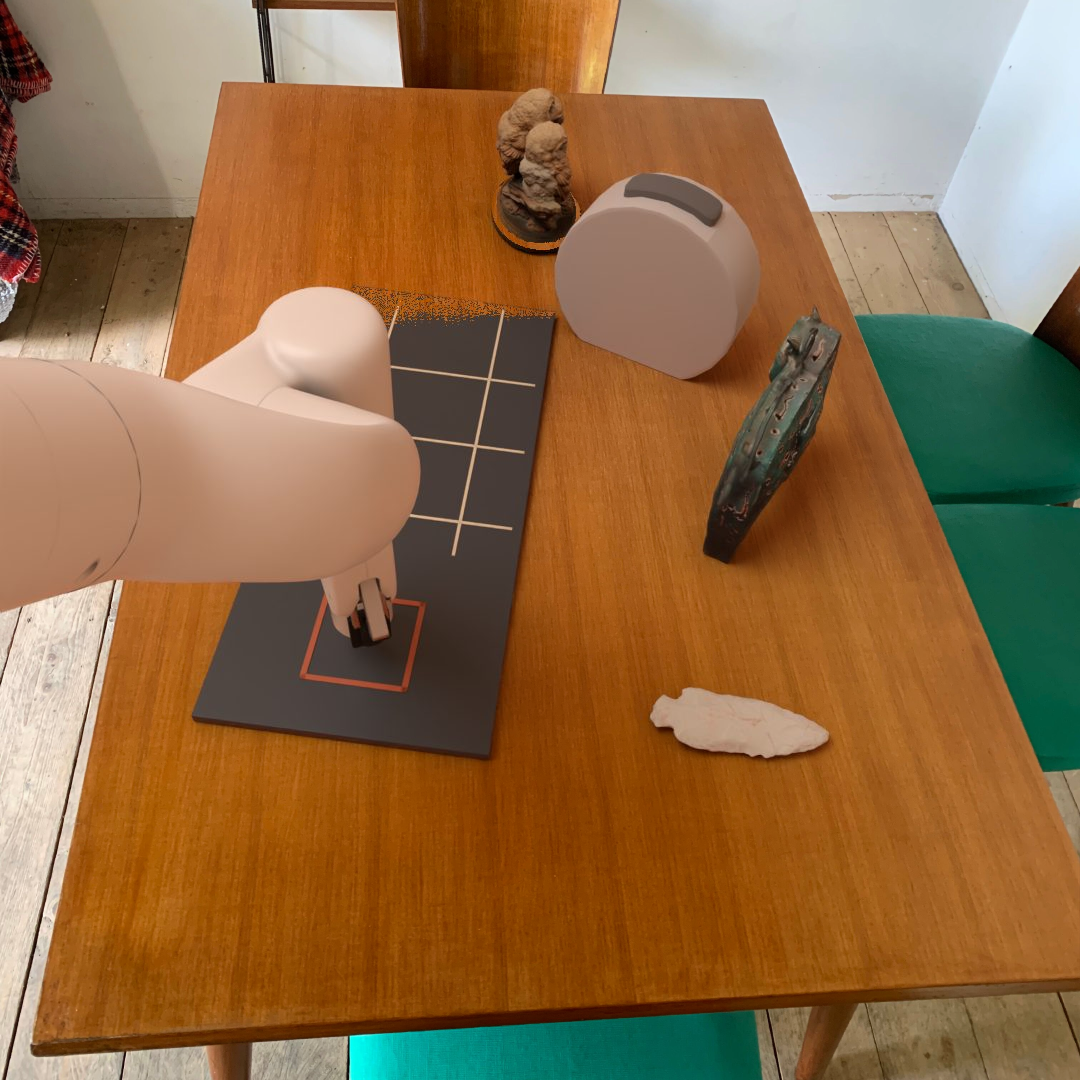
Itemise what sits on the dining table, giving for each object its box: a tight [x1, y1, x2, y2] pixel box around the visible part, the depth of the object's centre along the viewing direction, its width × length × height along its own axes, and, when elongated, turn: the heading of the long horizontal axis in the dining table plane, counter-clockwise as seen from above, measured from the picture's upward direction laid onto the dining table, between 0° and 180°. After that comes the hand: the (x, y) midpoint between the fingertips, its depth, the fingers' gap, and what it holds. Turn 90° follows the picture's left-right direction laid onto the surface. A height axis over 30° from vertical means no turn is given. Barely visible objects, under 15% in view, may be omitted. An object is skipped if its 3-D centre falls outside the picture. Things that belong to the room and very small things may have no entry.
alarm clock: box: [554, 172, 762, 380], centre depth 99 cm, size 21×8×20 cm, turn 63°
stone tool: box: [649, 686, 830, 759], centre depth 77 cm, size 6×2×15 cm
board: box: [191, 284, 556, 761], centre depth 91 cm, size 56×24×1 cm, turn 174°
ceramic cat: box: [702, 304, 842, 564], centre depth 85 cm, size 20×6×20 cm, turn 152°
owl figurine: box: [490, 87, 576, 253], centre depth 113 cm, size 18×12×17 cm, turn 7°
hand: (361, 610), depth 75 cm, fingers closed on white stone, 5 cm apart
